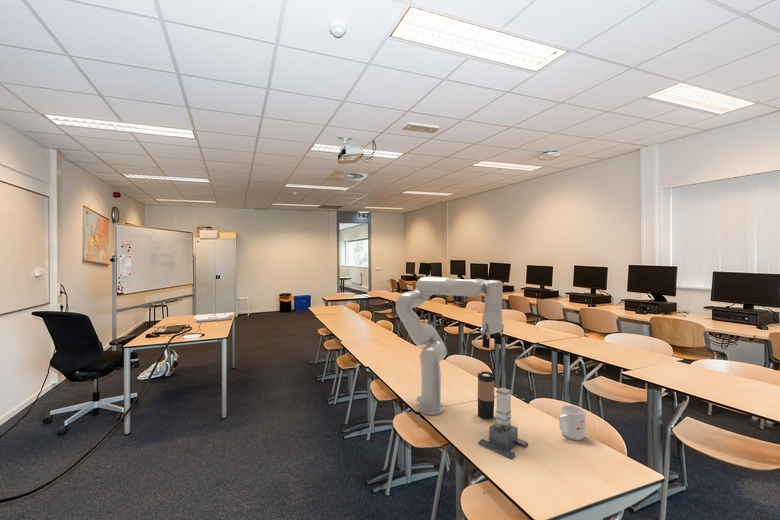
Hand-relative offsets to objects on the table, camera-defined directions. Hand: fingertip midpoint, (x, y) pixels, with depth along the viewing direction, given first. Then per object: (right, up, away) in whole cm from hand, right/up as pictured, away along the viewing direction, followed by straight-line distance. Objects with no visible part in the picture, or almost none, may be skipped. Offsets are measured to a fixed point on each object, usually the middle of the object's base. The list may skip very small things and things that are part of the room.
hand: (492, 345), depth 153 cm
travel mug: (-1, -36, +8) cm, 36 cm away
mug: (+30, -36, -10) cm, 48 cm away
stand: (-1, -35, -17) cm, 39 cm away
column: (-1, -30, -17) cm, 34 cm away
